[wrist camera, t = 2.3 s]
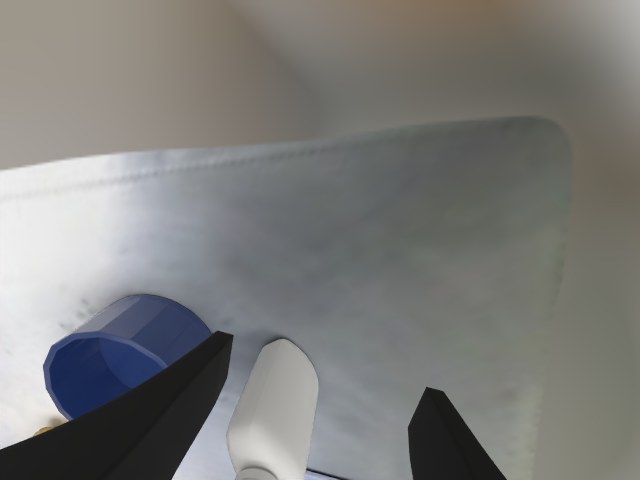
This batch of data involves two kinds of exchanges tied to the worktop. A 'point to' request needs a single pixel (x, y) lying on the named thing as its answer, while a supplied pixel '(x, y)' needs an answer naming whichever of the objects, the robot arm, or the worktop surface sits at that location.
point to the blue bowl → (118, 351)
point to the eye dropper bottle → (274, 416)
